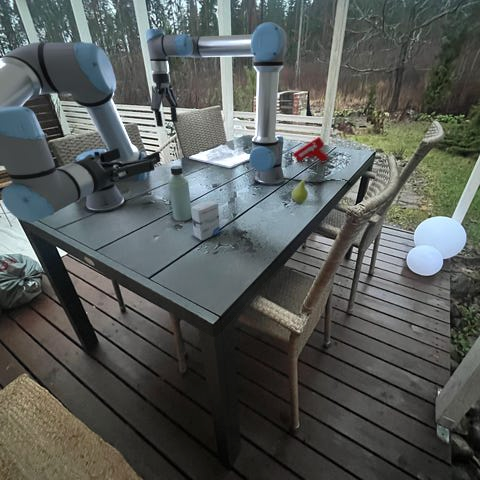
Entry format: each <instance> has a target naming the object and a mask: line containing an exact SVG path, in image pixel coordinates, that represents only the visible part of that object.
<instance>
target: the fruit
mask: <svg viewBox="0 0 480 480" xmlns="http://www.w3.org/2000/svg"><path fill="white" fill-rule="evenodd" d="M310 177H311V175H310V174H309V175H308V176H307V177H305V179H301V180H302V181H301V182H298V184H297V185H296V186H295V187H294V188H293V190H292V191H291V198H292V200H293V201H294V202H295V203H297V204H301V203H304V202H305V201H306V200H307V198H308V196H309V195H308V190H307V189H306V184H305V181H307V180H308V179H309V178H310Z"/></svg>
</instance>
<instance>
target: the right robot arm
mask: <svg viewBox="0 0 480 480" xmlns="http://www.w3.org/2000/svg"><path fill="white" fill-rule="evenodd" d="M145 36H146V46H147V50H148V55H149V63H150V69H151V72H152V74H151V76H152V83H153V84H155V85H152V86H151V102H150V110H151V111H152V112H154V117H155V121H156V127H158V128H163V127H164V123H163V116H162V111H161V106H162V102H163V99H164V98H166V100H167V102H168V103H169V106H170V109H169V110H170V116H171V117H170V118H171V122H172V123H173V122H174V123H178V122H179V121H178V114H177V108H178V107H179V102H178V99H177V97H176V94H175V91H174V87H173V84H170V83H171V75H170V73H169V72H170V68H169V60H168V57H175V58H176V57H177V58H178V57H179V58H180V57H182V58H211V57H212V58H218V57H219V58H220V57H221V58H222V57H224V58H225V57H226V58H227V57H229V58H230V57H253V68H254V69H255V71H256V107H255V108H256V110H255V135H254V136H253V137H252V139H251V151H250V153H249V154H250V156H249V163H250V166H251V167H252V168H253V169H254V170H256V174H255V177H254V181H255V183H258V184H259V185H262V186H263V185H264V186H279V185H281V184H283V183H284V181H285V180H286V181H291V182H292V181H293V182H297V183H300V182H301V181H302V180H303V179H296V178H289V177H285V175H284V172H283V171H284V170H283V167H282V165H283V154H284V153H283V152H284V137H283V135H280V134H279V135H278V134H276V129H277V128H276V127H277V113H278V112H277V111H278V95H279V80H280V79H279V77H280V71H281V70H282V69H283V68H284V61H285V60H284V59H285V56H286V54H287V52H288V49H289V47H290V46H289V45H290V39H289V35H288V33H287V31H286V30H285V29H284V28H283V27H281V26H280V25H278V24H277V23H276V22H271V21H268V22H267V21H266V22H262V23H261V24H259V25H258V26H257V27H256V28H255V29H254V30H253V32H252V34H231V35H230V34H228V35H208V36H190V35H189V34H188V33H178V34H165V30H164V29H162V28H147V29H146V31H145ZM329 179H330V180H327V179H324V180H325V181H323V180H321V181H322V182H319V181H309V180H305V183H306V184H323V183H327V182H330V181H331V182H333V181H334V182H336V181H338V182H339V181H340V182H341V180H335V179H336V178H329ZM341 179H342V180H345V181H344V182H346V181H347V182H346V183H347V184H349V185H350V186H351V185H352V183H351V181H349V180H348V179H345V178H341Z"/></svg>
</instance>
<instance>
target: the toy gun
mask: <svg viewBox="0 0 480 480" xmlns="http://www.w3.org/2000/svg"><path fill="white" fill-rule="evenodd" d="M324 145H325V143H324V141H323V140H322V138H321V137H320V136H317V137H316V138H314V139H313V140H311V141H310V142H308V143H306V144H305V145H303V146H302V147H301V148H299V149H298V150H296V151H295V152H294V153H293V156H294V158H295V160H296V162H301V161H302V160H304V159H306V158H309V160H310V159H314V158H317V159H318V160H319V161H321V162H320V163H321V164H324V162H322V161H325V160H326V162H328V158H329V155H328V154H327V153H325V152H324V151H323V150H322V148H323V147H324Z"/></svg>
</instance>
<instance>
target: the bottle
mask: <svg viewBox="0 0 480 480" xmlns="http://www.w3.org/2000/svg"><path fill="white" fill-rule="evenodd" d="M167 186H168V193H169V197H170V204H171V205H170V206H171V210H172V217H173V220H175V221H178V222H185V221H189V220H191V219H192V211H191V207H192V203H191V202H192V201H191V193H190V185H189V180H188V179H187V178H186V177H185V176H184V175H183V174H180V175H172V176H171V177H170V179H169V180H168V183H167Z"/></svg>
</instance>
